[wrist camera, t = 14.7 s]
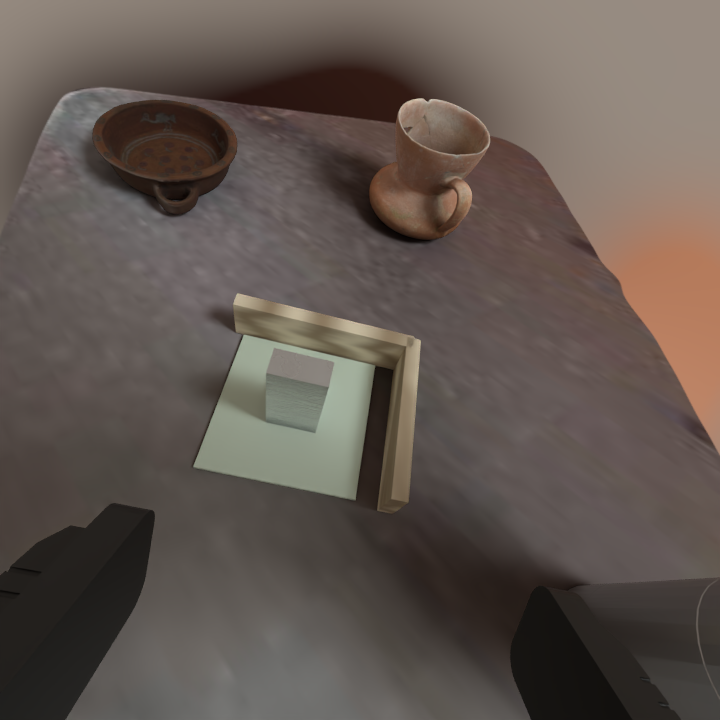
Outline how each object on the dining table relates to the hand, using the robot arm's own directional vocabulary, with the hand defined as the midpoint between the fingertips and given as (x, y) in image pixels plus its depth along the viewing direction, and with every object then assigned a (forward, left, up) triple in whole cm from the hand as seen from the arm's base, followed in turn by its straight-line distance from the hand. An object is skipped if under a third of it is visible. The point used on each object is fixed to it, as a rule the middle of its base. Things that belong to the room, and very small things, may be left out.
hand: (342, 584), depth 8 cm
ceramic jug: (-7, -52, -29) cm, 60 cm away
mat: (+3, -16, -29) cm, 33 cm away
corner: (+1, -17, -29) cm, 33 cm away
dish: (+28, -49, -29) cm, 63 cm away
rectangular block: (+3, -17, -28) cm, 33 cm away
